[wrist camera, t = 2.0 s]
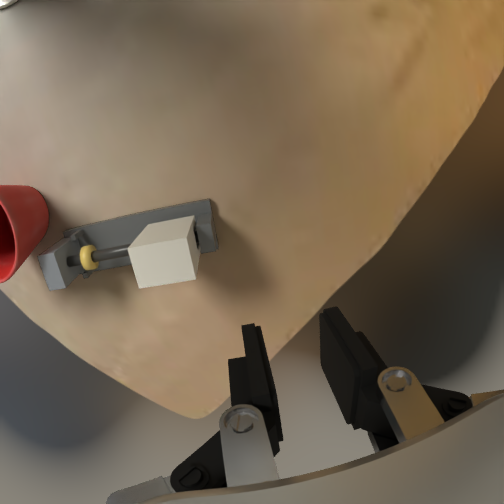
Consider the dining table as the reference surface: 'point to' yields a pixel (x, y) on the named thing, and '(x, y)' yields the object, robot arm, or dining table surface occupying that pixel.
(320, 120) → the dining table surface
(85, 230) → the grey slider rail
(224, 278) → the dining table surface
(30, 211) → the flower pot
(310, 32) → the dining table surface
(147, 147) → the dining table surface
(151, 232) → the white sliding block
